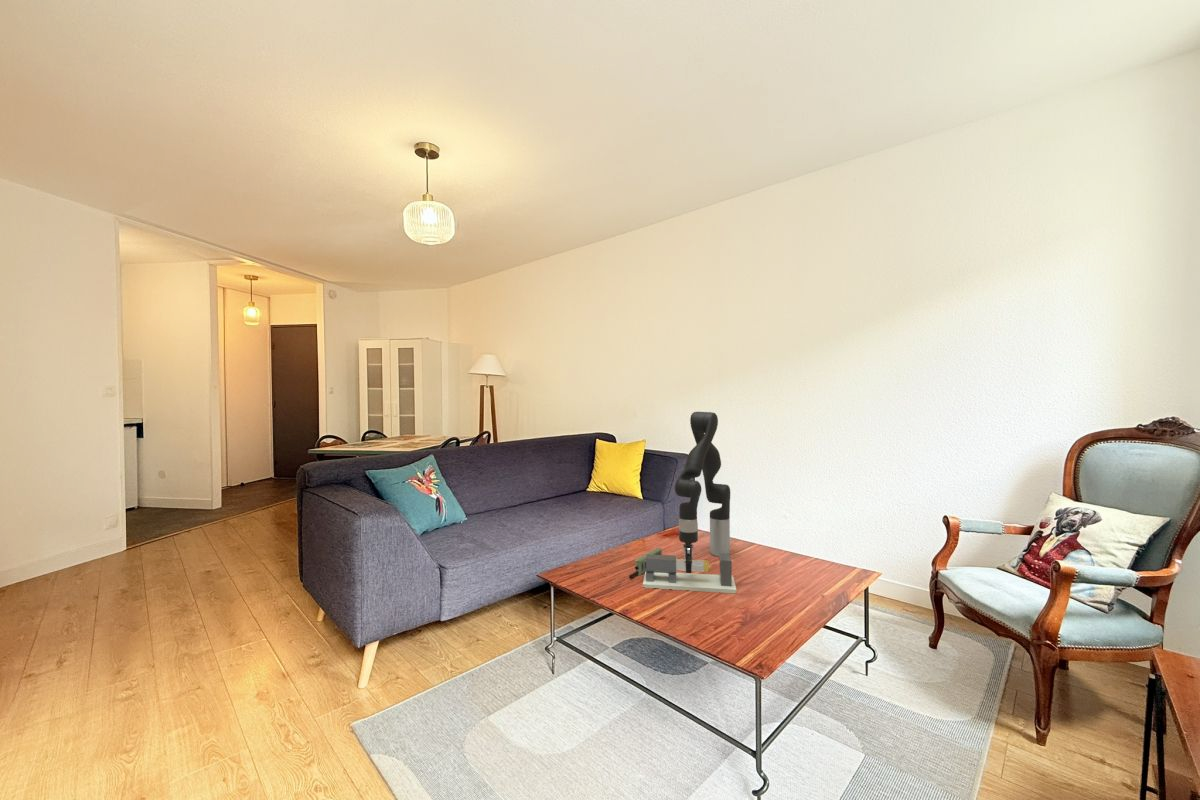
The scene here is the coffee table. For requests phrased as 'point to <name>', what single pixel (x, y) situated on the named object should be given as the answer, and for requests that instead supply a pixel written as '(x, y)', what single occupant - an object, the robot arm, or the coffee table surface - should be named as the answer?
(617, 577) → the coffee table surface
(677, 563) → the silver metal bar
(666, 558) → the sleeve
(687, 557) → the robot arm
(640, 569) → the handheld radio
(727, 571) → the socket
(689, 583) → the base board
